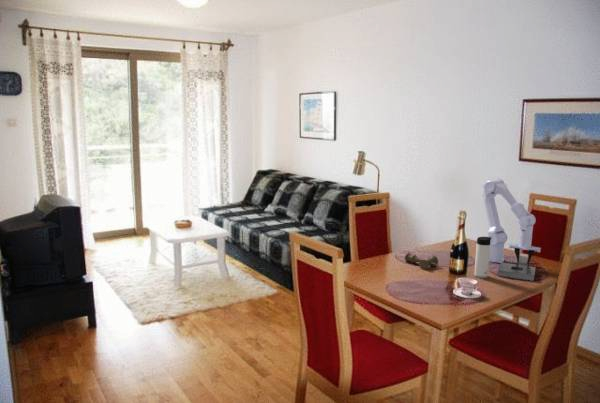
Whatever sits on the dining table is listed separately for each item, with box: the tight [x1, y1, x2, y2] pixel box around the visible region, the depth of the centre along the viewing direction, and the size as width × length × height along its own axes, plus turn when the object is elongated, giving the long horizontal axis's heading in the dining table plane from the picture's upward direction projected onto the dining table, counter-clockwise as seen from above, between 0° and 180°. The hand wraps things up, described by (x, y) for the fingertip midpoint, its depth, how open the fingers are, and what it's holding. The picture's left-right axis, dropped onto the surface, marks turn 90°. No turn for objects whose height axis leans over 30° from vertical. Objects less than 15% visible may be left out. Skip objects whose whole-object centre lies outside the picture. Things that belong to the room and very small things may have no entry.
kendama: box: [404, 252, 440, 271], centre depth 256 cm, size 6×10×20 cm
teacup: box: [452, 277, 482, 299], centre depth 218 cm, size 12×12×6 cm
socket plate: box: [497, 262, 536, 282], centre depth 244 cm, size 16×14×3 cm
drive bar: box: [518, 253, 529, 266], centre depth 253 cm, size 4×4×7 cm
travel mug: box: [473, 236, 492, 279], centre depth 239 cm, size 6×7×20 cm
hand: (523, 263), depth 253 cm, fingers closed on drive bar, 4 cm apart
